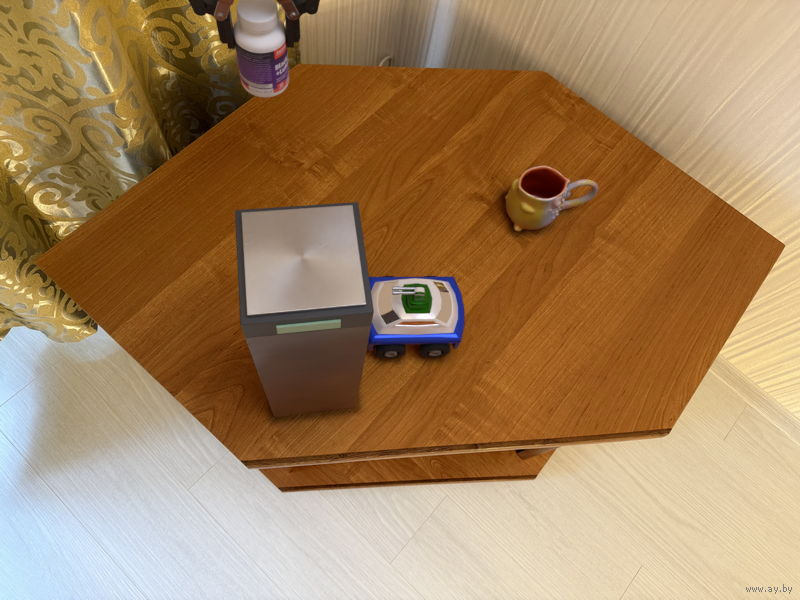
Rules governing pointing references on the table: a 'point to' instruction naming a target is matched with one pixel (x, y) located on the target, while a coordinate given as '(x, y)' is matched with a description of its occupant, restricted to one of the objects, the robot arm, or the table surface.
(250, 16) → the pill bottle
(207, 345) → the table surface
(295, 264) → the tall grey box
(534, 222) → the mug
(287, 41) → the robot arm
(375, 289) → the toy car
